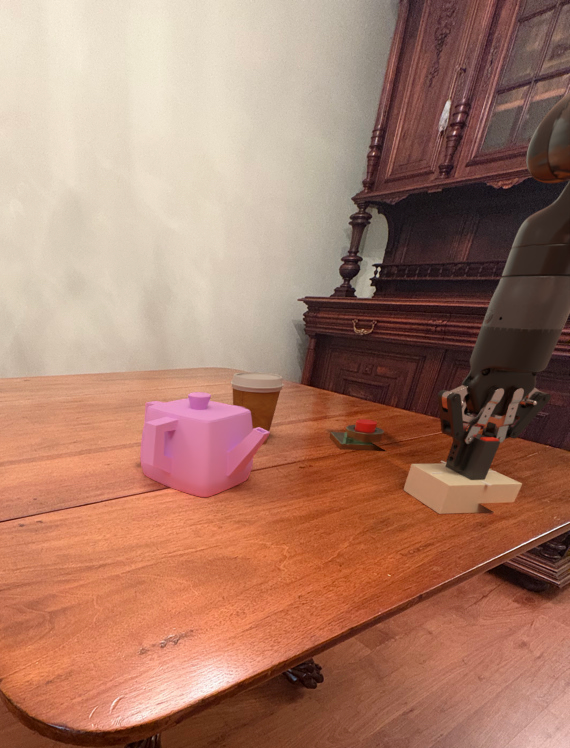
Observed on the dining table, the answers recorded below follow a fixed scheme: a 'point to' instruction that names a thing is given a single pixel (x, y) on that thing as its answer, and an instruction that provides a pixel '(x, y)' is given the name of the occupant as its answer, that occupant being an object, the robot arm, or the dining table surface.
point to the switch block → (357, 439)
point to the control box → (458, 489)
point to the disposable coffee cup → (257, 396)
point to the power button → (365, 425)
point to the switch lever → (480, 457)
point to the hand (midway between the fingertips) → (466, 468)
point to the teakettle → (198, 444)
